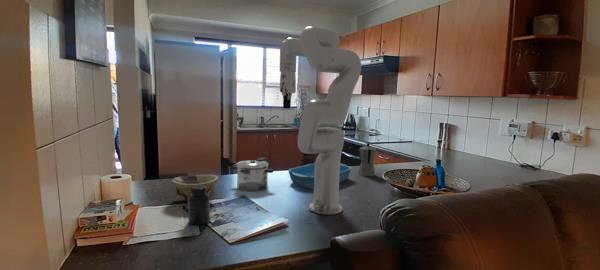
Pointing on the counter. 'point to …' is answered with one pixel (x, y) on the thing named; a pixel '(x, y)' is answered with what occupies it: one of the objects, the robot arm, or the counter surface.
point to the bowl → (194, 184)
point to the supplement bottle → (198, 206)
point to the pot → (252, 178)
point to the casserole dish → (306, 175)
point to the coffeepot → (367, 161)
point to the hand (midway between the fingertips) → (286, 108)
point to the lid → (253, 163)
